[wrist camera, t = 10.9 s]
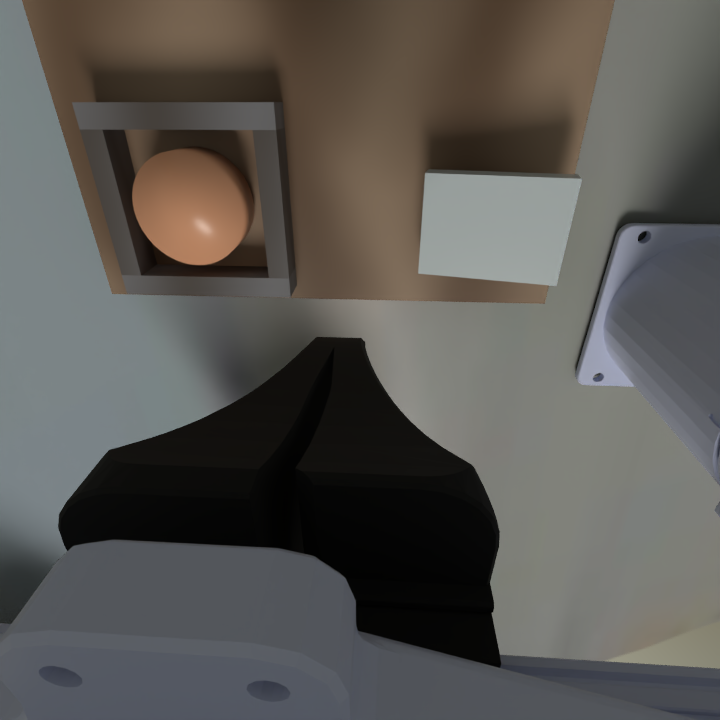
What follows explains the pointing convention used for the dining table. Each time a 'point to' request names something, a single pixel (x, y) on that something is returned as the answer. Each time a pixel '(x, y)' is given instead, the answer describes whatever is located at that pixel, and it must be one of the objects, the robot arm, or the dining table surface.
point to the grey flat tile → (496, 224)
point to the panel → (316, 126)
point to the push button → (193, 204)
